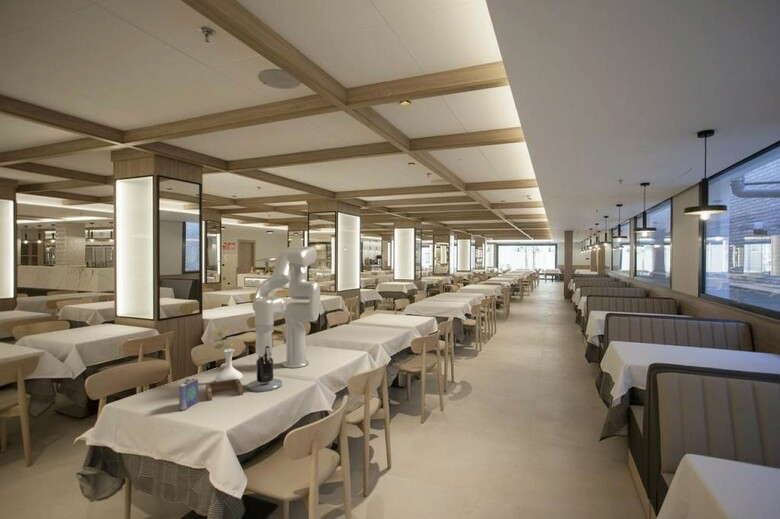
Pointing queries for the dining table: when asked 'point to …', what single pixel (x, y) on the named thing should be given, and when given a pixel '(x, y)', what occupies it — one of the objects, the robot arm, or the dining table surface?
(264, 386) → the plate
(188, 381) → the flask
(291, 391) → the dining table surface
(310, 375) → the dining table surface
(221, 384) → the brown wooden arch piece
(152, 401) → the dining table surface
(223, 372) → the flower in vase
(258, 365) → the supplement bottle
